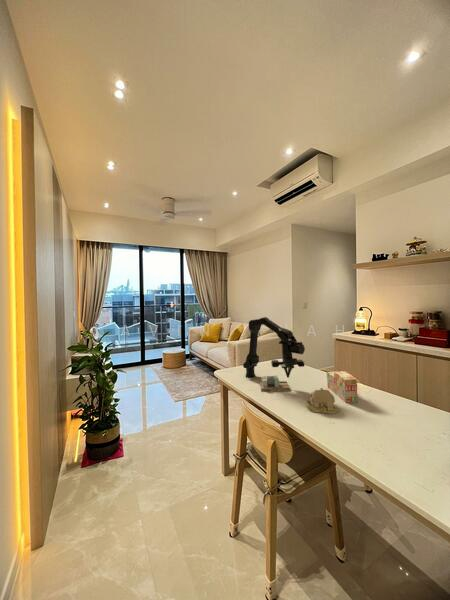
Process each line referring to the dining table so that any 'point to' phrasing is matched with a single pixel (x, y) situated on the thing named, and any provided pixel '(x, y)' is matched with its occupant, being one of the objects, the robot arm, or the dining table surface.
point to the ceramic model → (322, 402)
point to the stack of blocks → (343, 385)
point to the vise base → (282, 387)
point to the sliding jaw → (276, 381)
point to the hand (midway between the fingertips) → (287, 377)
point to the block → (270, 381)
